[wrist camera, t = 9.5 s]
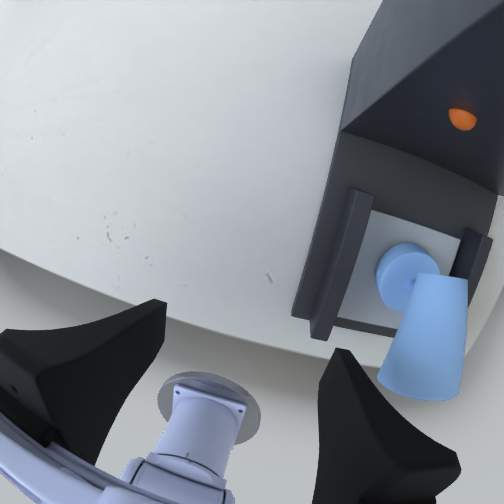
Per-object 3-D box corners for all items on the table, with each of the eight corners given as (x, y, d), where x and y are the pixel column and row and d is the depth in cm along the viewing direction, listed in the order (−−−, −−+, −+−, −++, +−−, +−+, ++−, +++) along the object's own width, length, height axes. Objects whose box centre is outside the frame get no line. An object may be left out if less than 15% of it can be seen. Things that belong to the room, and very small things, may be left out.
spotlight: (416, 321, 20) (445, 238, 17) (453, 423, 10) (522, 320, 8) (359, 314, 20) (383, 226, 17) (375, 426, 11) (439, 312, 8)
